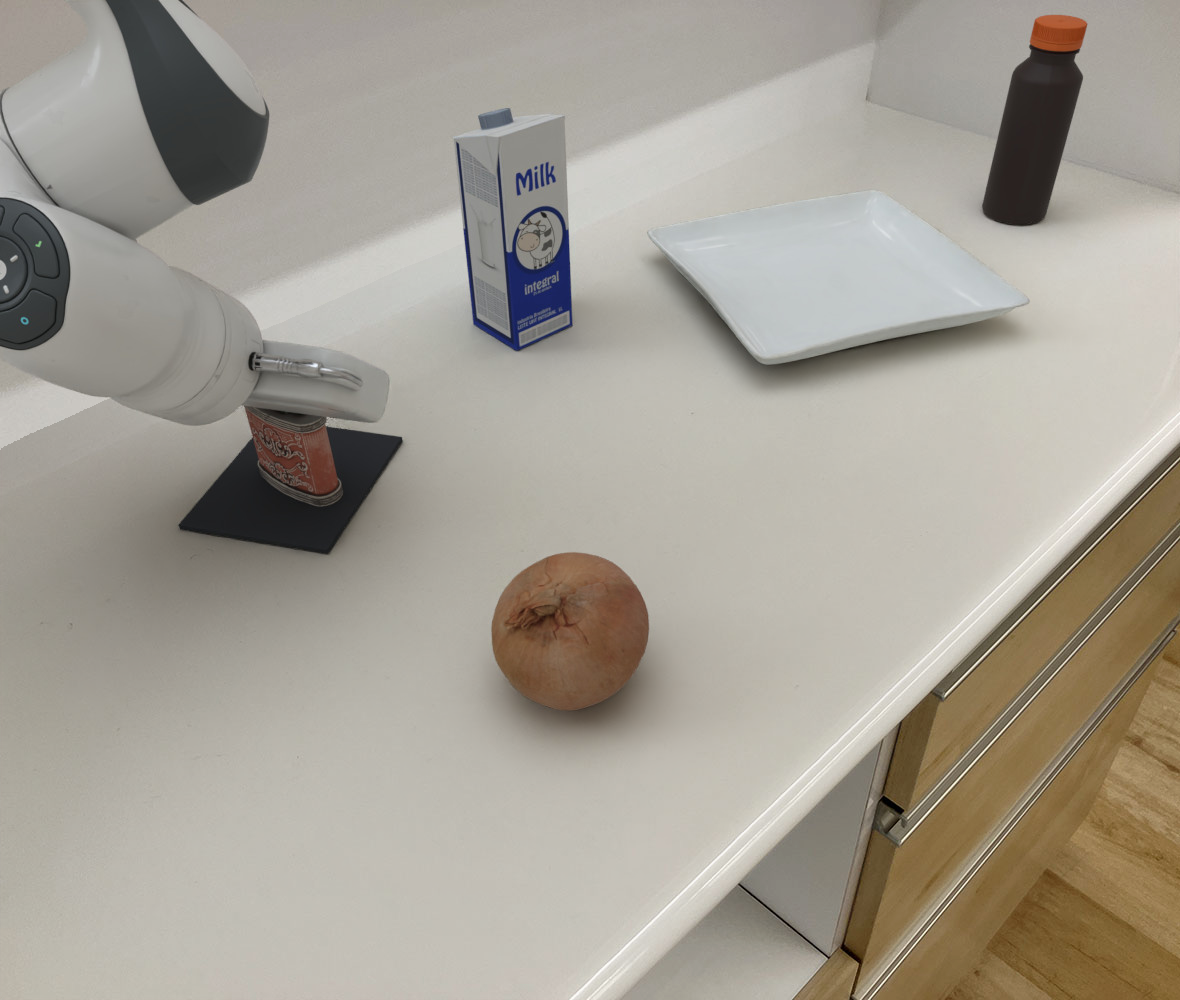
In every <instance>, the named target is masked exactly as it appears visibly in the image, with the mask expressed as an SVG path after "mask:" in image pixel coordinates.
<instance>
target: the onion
mask: <svg viewBox="0 0 1180 1000" xmlns="http://www.w3.org/2000/svg"><path fill="white" fill-rule="evenodd" d="M649 615H650V614H649V611H648V607H647V604H646V601H645V599H644V597H643V595H642V593H641V591H640V589H639V588H638V586H637V584H635V582H634V581H633V580H632V578H631V576H629V575H628V573H626V572H625V571H624V570H623V568H621V567H620V566H619V565H617V564H615V563H614V562H613V561H611V560H609V559H607V558H604V557H602V556H599V555H596V554H591V553H586V552H576V551H571V552H561V553H555V554H552V555H549V556H546V557H544V558H542V559H540V560H537V561H536V562H534V563H532V564H531V565H529V566H528V567H526V568H524V569H522V570H521V571H520V572H519V573H518V574H516V575H515V576H514V577H513V579H511V580H510V582H509V583H508V584H507V585H506V586H505V588H504V589H503V591H502V593H501V594H500V596H499V598H498V600H497V602H496V606H495V608H494V612H493V616H492V621H491V627H490V628H491V629H490V630H491V645H492V653H493V656H494V660H495V662H496V664H497V666H498V668H499V670H501V673H502V674H503V675H504V677H505V678H506V679H507V681H508V682H509V684H510V685H511V686H512V687H513V688H514V689H515V690H516V691H517V692H519V693H520V694H521V695H522V696H524V697H525V698H527V699H529V700H531V701H532V702H535V703H537V704H540V705H541V706H545V707H548V708H551V709H554V710H559V711H577V710H581V709H585V708H587V707H591V706H595V705H597V704H600V703H601V702H604V701H605V700H607V699H608V698H610V697H612V696H613V695H615V694H616V693H617V692H618V691H620V690H621V689H622V688H623V687H624V686H625V685H626V684H627V683H628V681H630V679H631V678H632V677H633V676H634V674H635V673H636V671H637V669H638V667H639V665H640V663H641V660H642V658H643V657H644V655H645V652H646V650H647V646H648V641H649V633H650V620H649V617H650V616H649Z"/></svg>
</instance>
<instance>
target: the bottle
mask: <svg viewBox="0 0 1180 1000" xmlns="http://www.w3.org/2000/svg"><path fill="white" fill-rule="evenodd" d="M1087 27H1088V22H1087V21H1086V20H1084V19H1082V18H1080V17H1077V16H1074V15H1073V16H1072V15H1066V14H1044V15H1040V16H1038V17H1036V18H1035V19H1034V22H1033V26H1032V30H1031V35H1030V38H1029V45H1028V48H1029V50H1030V53H1029V56H1028V57H1027V58H1025V60H1023V61H1021V63H1019V64H1017V66H1015V68H1014V70H1013V72H1012V74H1011V77H1010V82H1009V87H1008V91H1007V95H1006V96H1007V97H1006V99H1005V104H1004V108H1003V111H1002V112H1003V113H1002V117H1001V120H1000V126H999V130H998V135H997V139H996V144H995V148H994V152H993V156H992V161H991V165H990V170H989V173H988V178H987V183H986V185H985V190H984V196H983V200H982V205H981V209H982V211H983V213H984V214H985V215H986V216H987V217H988V218H990V219H992V220H994V221H996V222H1000V223H1002V224H1007V225H1013V226H1014V225H1016V226H1017V225H1018V226H1026V225H1033V224H1036V223H1039V222H1041V221H1042V220H1043V219H1045V218H1046V216H1047V213H1048V209H1049V206H1050V203H1051V198H1052V195H1053V191H1054V188H1055V184H1056V181H1057V176H1058V173H1059V169H1060V165H1061V162H1062V158H1063V154H1064V151H1065V147H1066V144H1067V139H1068V136H1069V132H1070V130H1071V129H1070V128H1071V125H1072V121H1073V118H1074V113H1075V109H1076V107H1077V104H1078V99H1079V97H1080V96H1079V95H1080V92H1081V88H1082V85H1083V80H1084V75H1083V73H1082V71H1081V70H1080V68H1079V66H1078V65H1077V63H1076V62H1075V59H1076V56H1077V54H1079V53H1080V52H1081V48H1082V46H1083V43H1084V39H1085V36H1086V35H1085V34H1086V31H1087V29H1088V28H1087Z"/></svg>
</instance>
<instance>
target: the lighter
mask: <svg viewBox="0 0 1180 1000" xmlns="http://www.w3.org/2000/svg"><path fill="white" fill-rule="evenodd" d="M243 407H244V410H245V415H246V418H247V421H248V425H249V429H250V433H251V436H252V437H253V440H254V443H255V447H256V451H257V454H258V458H259V461H258V468H259V471H260V474H261V476H262V477H263V478H264V479H265V480H267V481H268V482H269V483H270V484H271V485H272V486H274V487H275V488H277V489H278V490H280V491H281V492H283V493H284V494H287V495H289V496H291V497H293V498H295V499H297V500H300V501H303V502H306V503H309V504H312V505H315V506H327V505H330V504H333V503H335V502H336V501H338V500H339V499H340V498H341V496H342V495H343V489H342V485H341V481H340V480H339V479H338V478H337V474H336V470H335V465H334V461H333V456H332V452H331V447H330V443H329V438H328V434H327V429H326V426H327V425H326V423H327V422H328V417H322V416H315V415H308V414H300V413H293V412H286V411H278V410H271V409H264V408H257V407H249V406H243Z"/></svg>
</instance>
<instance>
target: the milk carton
mask: <svg viewBox="0 0 1180 1000" xmlns="http://www.w3.org/2000/svg"><path fill="white" fill-rule="evenodd" d="M477 118H478V122H479V125H480V128H477V129H474V130H470V131H467V132H465V133H462V134H458V135H455V136H452V139H453V147H454V154H455V165H456V174H457V181H458V184H457V185H458V190H459V191H458V192H459V203H460V210H461V211H460V212H461V221H462V229H463V231H462V232H463V238H464V249H465V258H466V267H467V268H466V269H467V276H468V285H469V297H470V305H471V306H470V307H471V315H472V323H473V326H475V325H476V326H475V327H476V328H478V329H480V330H481V331H483V332H485V333H486V334H488V335H490V336H491V337H493V338H495V339H496V340H498V341H500V342H501V343H503V344H504V345H506V346H508V347H509V348H511V349H513V351H515V352H518V351H520V350H522V349H524V348H527V347H529V346H531V345H533V344H535V343H538V342H539V341H542V340H545V339H546V338H549V337H550V336H553V335H555V334H557V333H560V332H562V331H563V330H566V329H568V328H571V327H573V301H572V277H571V252H570V226H569V201H568V200H569V199H568V174H567V172H568V171H567V143H566V121H565V120H566V115H565V114H554V113H543V114H542V113H541V114H532V115H521V116H515V117H513V115H512V110H511V107H505V108H501V109H495V110H492V111H491V110H490V111H488V112H485V113H481V114H479V115H477Z"/></svg>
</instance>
